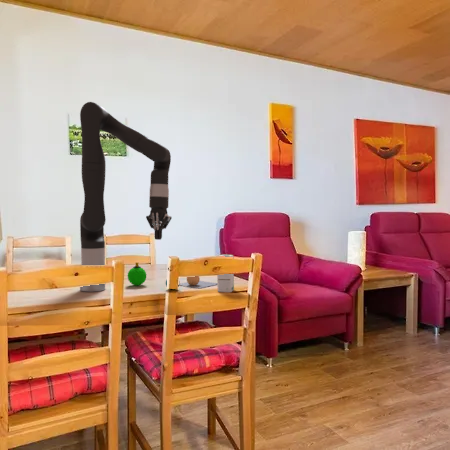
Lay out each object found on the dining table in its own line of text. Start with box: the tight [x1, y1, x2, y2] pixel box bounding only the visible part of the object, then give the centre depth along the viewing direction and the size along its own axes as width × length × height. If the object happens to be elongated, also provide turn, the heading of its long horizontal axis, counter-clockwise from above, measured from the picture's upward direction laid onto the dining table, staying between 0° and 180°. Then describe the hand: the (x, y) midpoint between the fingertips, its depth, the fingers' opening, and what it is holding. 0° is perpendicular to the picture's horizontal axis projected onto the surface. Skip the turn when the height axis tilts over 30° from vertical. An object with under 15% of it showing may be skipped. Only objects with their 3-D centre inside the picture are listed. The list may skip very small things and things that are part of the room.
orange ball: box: [186, 275, 201, 286], centre depth 182 cm, size 6×6×6 cm
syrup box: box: [217, 254, 235, 293], centre depth 169 cm, size 6×6×14 cm
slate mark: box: [179, 280, 218, 289], centre depth 184 cm, size 14×14×1 cm
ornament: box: [127, 262, 147, 287], centre depth 182 cm, size 8×8×10 cm
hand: (158, 239), depth 167 cm, fingers closed
